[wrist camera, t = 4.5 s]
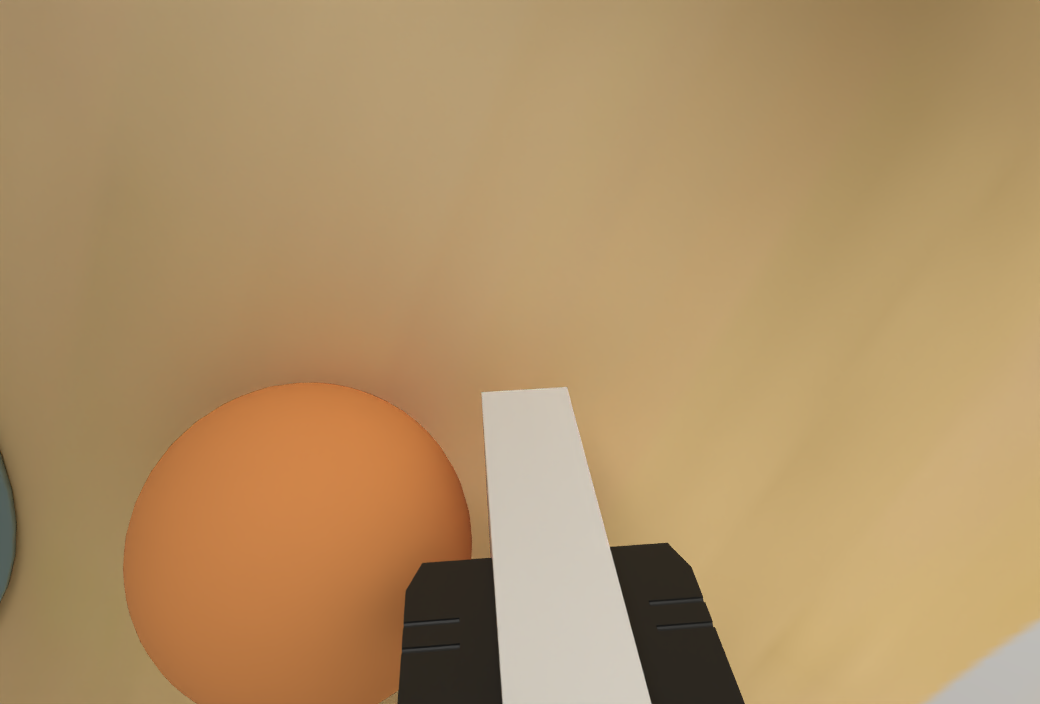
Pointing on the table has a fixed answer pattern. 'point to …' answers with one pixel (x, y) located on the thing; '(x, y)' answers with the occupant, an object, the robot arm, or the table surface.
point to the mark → (6, 530)
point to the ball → (289, 546)
